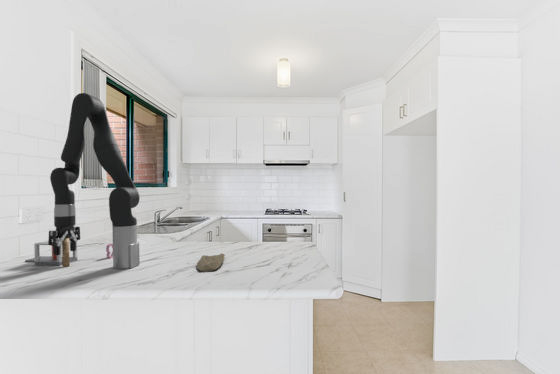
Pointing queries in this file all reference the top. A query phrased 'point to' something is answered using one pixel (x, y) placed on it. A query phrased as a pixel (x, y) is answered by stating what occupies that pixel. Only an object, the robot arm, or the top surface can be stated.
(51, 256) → the pad
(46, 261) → the grey open cage
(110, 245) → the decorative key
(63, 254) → the oak dowel
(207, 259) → the stone tool
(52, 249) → the plunger
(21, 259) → the top surface
